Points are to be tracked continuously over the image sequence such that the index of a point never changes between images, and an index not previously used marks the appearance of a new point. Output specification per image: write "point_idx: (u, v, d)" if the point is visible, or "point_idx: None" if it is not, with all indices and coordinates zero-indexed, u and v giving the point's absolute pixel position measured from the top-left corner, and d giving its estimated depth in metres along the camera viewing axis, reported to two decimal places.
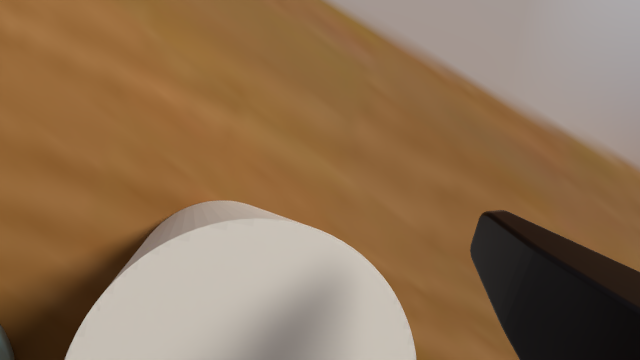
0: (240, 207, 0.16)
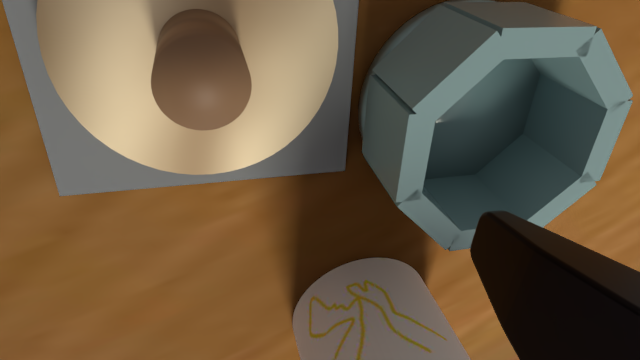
0: None
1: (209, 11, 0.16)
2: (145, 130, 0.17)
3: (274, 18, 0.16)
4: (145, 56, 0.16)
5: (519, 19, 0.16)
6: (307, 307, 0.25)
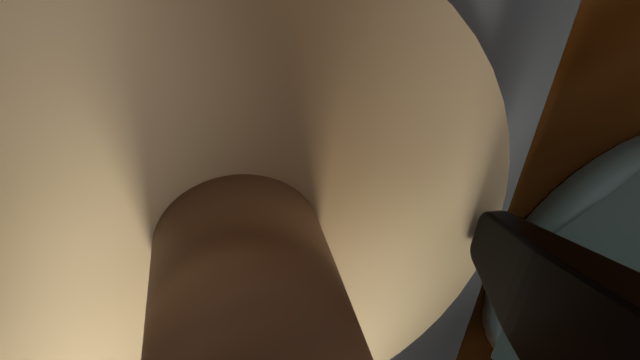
0: None
1: (266, 179, 0.07)
2: None
3: (393, 182, 0.08)
4: (125, 262, 0.08)
5: None
6: None
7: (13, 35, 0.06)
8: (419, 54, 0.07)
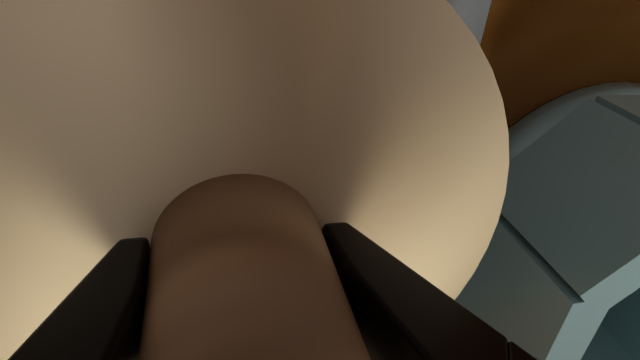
0: None
1: (265, 179, 0.07)
2: None
3: (392, 182, 0.08)
4: None
5: None
6: None
7: (12, 35, 0.06)
8: (418, 54, 0.07)
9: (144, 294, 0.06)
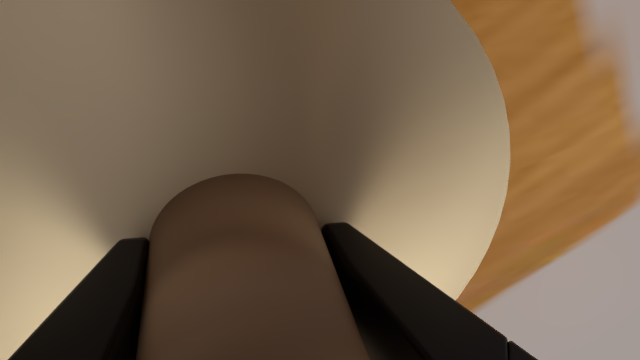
0: None
1: (264, 178, 0.07)
2: None
3: (392, 182, 0.08)
4: None
5: None
6: None
7: (7, 33, 0.05)
8: (418, 53, 0.07)
9: None
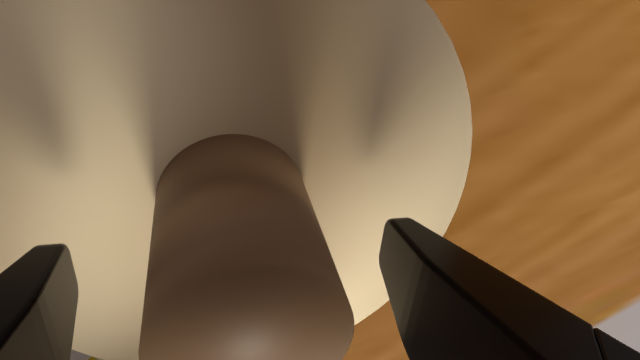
0: None
1: (255, 138, 0.08)
2: (130, 319, 0.10)
3: (368, 145, 0.09)
4: (133, 211, 0.09)
5: None
6: None
7: (40, 8, 0.07)
8: (386, 29, 0.08)
9: (52, 303, 0.06)
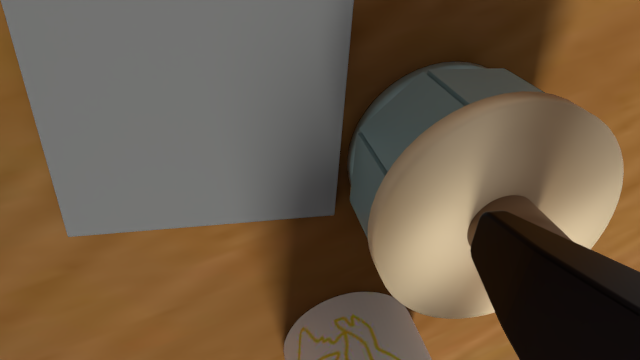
0: None
1: (522, 197, 0.17)
2: (434, 288, 0.19)
3: (570, 197, 0.18)
4: (457, 232, 0.18)
5: (493, 95, 0.17)
6: (297, 337, 0.26)
7: (457, 148, 0.15)
8: (591, 145, 0.17)
9: None
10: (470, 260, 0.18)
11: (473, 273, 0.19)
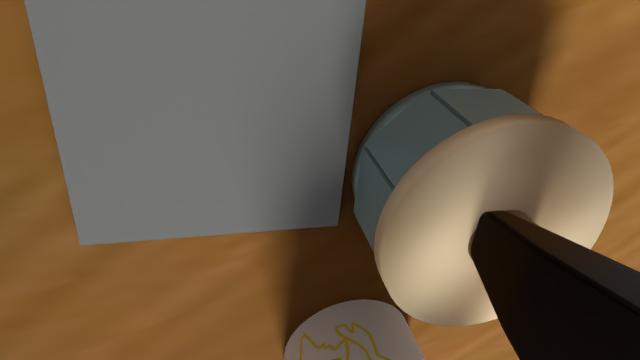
0: None
1: (520, 212, 0.18)
2: (435, 297, 0.20)
3: (564, 212, 0.19)
4: (458, 245, 0.19)
5: (493, 115, 0.18)
6: (298, 343, 0.27)
7: (461, 166, 0.16)
8: (585, 164, 0.18)
9: None
10: (470, 271, 0.20)
11: (472, 283, 0.20)
